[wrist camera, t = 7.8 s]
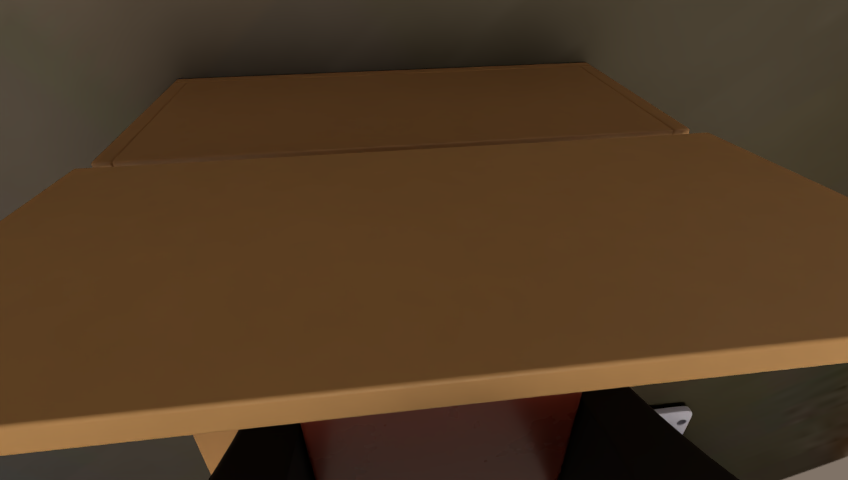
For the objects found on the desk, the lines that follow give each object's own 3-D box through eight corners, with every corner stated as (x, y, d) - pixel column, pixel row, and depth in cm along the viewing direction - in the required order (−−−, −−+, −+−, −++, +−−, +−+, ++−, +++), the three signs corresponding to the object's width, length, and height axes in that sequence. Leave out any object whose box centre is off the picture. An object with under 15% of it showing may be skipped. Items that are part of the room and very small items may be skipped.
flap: (79, 185, 9) (72, 167, 9) (704, 147, 10) (708, 131, 10) (-311, 492, 4) (-347, 463, 4) (1079, 338, 5) (1100, 312, 5)
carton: (176, 78, 15) (71, 180, 9) (586, 61, 16) (711, 141, 10) (260, 368, 22) (230, 521, 16) (537, 341, 23) (595, 475, 18)
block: (495, 361, 12) (547, 525, 9) (336, 378, 12) (331, 555, 9) (510, 229, 10) (587, 384, 7) (314, 245, 10) (297, 416, 6)
